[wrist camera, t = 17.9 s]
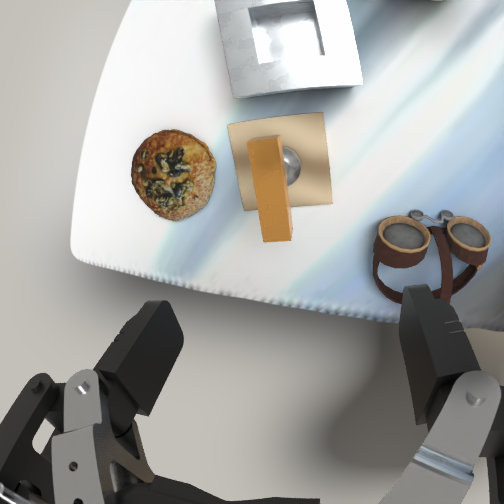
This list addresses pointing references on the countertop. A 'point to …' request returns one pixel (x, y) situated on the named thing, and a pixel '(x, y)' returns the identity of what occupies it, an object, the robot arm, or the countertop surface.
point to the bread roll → (173, 174)
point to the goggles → (416, 243)
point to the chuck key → (273, 184)
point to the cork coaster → (296, 137)
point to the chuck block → (287, 45)
